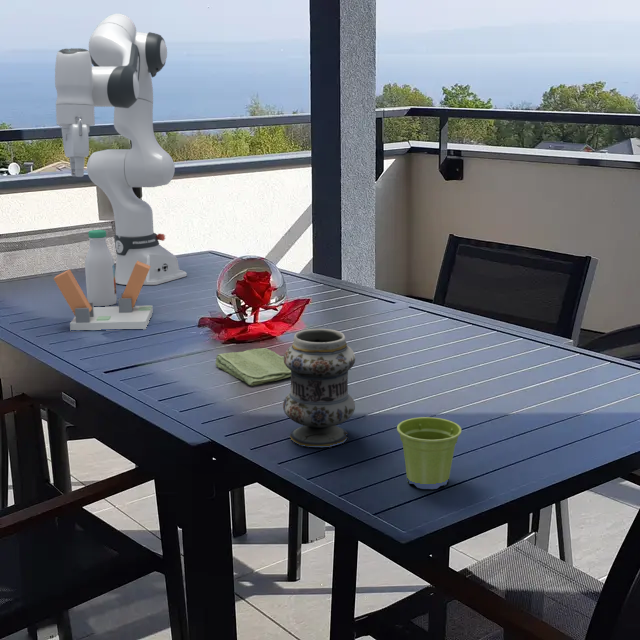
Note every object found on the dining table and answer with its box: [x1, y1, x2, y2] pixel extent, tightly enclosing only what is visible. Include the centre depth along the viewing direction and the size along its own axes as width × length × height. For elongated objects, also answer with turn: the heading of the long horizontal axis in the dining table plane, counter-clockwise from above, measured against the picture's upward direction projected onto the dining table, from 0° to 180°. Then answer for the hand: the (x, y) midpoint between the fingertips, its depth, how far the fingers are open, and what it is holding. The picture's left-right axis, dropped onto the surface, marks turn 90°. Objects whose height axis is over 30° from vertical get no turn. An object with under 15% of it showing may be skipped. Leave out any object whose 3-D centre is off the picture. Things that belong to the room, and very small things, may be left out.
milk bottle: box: [84, 229, 118, 307], centre depth 243 cm, size 8×8×20 cm
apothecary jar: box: [282, 328, 356, 446], centre depth 151 cm, size 12×12×18 cm
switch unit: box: [69, 292, 154, 332], centre depth 226 cm, size 16×18×6 cm
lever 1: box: [53, 268, 92, 316], centre depth 220 cm, size 4×4×12 cm
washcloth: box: [214, 347, 291, 387], centre depth 188 cm, size 13×18×3 cm
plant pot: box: [396, 416, 462, 484], centre depth 135 cm, size 9×9×9 cm
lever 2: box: [121, 261, 151, 308], centre depth 230 cm, size 4×4×12 cm
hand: (77, 176), depth 219 cm, fingers open, 8 cm apart
